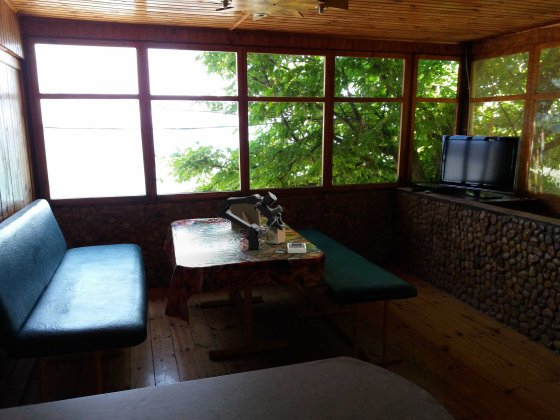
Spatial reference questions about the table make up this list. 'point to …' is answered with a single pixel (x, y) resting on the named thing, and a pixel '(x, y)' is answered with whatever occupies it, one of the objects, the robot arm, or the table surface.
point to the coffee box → (272, 234)
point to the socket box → (296, 248)
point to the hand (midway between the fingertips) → (283, 229)
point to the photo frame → (245, 214)
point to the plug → (281, 234)
